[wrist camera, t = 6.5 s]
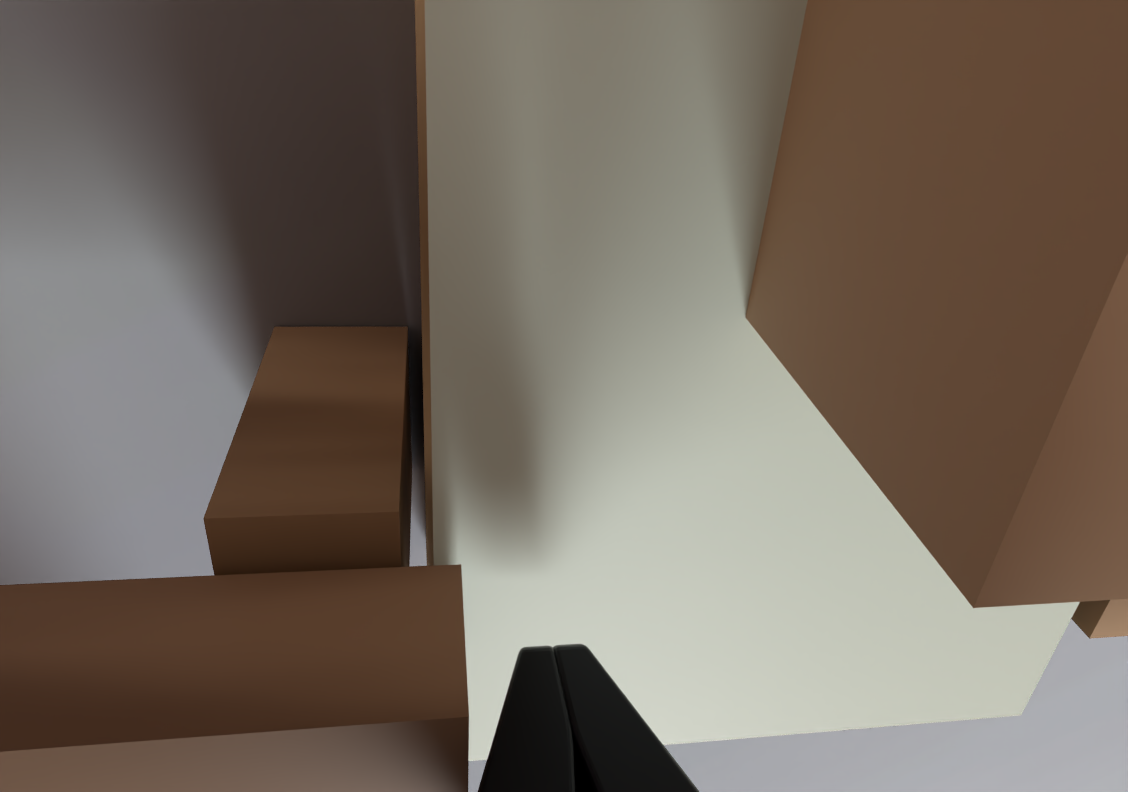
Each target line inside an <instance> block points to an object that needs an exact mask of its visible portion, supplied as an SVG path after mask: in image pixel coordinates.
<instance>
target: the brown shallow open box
mask: <svg viewBox="0 0 1128 792" xmlns="http://www.w3.org/2000/svg"><path fill="white" fill-rule="evenodd" d="M415 34H416V81H417V128H418V175H419V222H420V269H421V316H422V363H423V410H424V457H425V503H426V550H427V566H434V558H433V495H432V432H431V369H430V305H429V242H428V179H427V116H426V53H425V0H415ZM411 488H412V452H411V420H410V387H409V355H408V327H274V329H273V332H272V335H271V337H270V340H269V343H268V345H267V348H266V351H265V354H264V356H263V359H262V362H261V364H260V367H259V370H258V372H257V375H256V378H255V381H254V383H253V386H252V389H251V391H250V394H249V397H248V400H247V402H246V405H245V408H244V410H243V413H242V416H241V418H240V421H239V424H238V427H237V429H236V432H235V435H234V437H233V440H232V443H231V446H230V448H229V451H228V454H227V456H226V459H225V462H224V464H223V467H222V470H221V473H220V475H219V478H218V481H217V483H216V486H215V489H214V492H213V494H212V497H211V500H210V502H209V505H208V508H207V510H206V513H205V516H204V524H205V529H206V534H207V539H208V544H209V549H210V555H211V560H212V565H213V570H214V575H237V574H259V573H281V572H303V571H325V570H347V569H369V568H391V567H409V559H410V523H411ZM1071 619H1072V620H1073V621H1074V622H1075V623H1076V624H1077V625H1078V626H1079V627H1080V629H1081V630H1082V631H1083V632H1084V633H1085V634H1086V635H1087V636H1088V637H1089V638H1103V637H1117V636H1128V599H1118V600H1101V601H1084V602H1080V603H1079V605H1078V607H1077V609H1076V610H1075V612H1074V614H1073V616H1072V618H1071Z"/></svg>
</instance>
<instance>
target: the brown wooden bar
mask: <svg viewBox="0 0 1128 792" xmlns="http://www.w3.org/2000/svg"><path fill="white" fill-rule="evenodd" d="M468 756H469V706H468V686H467V667H466V648H465V628H464V609H463V589H462V570H461V564H457V565H435V566H413V567H391V568H369V569H347V570H325V571H303V572H281V573H259V574H237V575H215V576H193V577H171V578H149V579H127V580H105V581H82V582H60V583H38V584H16V585H0V792H468Z"/></svg>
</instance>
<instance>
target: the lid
mask: <svg viewBox="0 0 1128 792" xmlns="http://www.w3.org/2000/svg"><path fill="white" fill-rule="evenodd" d="M425 53H426V116H427V179H428V242H429V305H430V369H431V432H432V495H433V558H434V566H435V565H457V564H461V570H462V589H463V609H464V628H465V648H466V667H467V686H468V706H469V756H468V761H477V760H487V759H488V755H489V752H490V748H491V745H492V741H493V738H494V735H495V731H496V728H497V724H498V721H499V718H500V714H501V711H502V707H503V704H504V701H505V697H506V694H507V690H508V687H509V683H510V680H511V677H512V673H513V670H514V666H515V663H516V660H517V656H518V653H519V651H520V649H521V648H523V647H530V646H551V647H554V646H556V645H565V644H583V645H585V646H587V647H588V648H589V649H590V651H591V652H592V653H593V654H594V656H595V657H596V658H597V660H598V661H599V662H600V664H601V665H602V666H603V667H604V669H605V670H606V671H607V673H608V674H609V675H610V676H611V678H612V679H613V680H614V682H615V683H616V684H617V686H618V687H619V688H620V689H621V691H622V692H623V693H624V695H625V696H626V697H627V699H628V700H629V701H630V702H631V704H632V705H633V706H634V708H635V709H636V710H637V712H638V713H639V714H640V715H641V717H642V718H643V719H644V721H645V722H646V723H647V724H648V726H649V727H650V728H651V730H652V731H653V732H654V734H655V735H656V736H657V737H658V739H659V740H660V741H661V743H662V744H663V745H670V744H682V743H694V742H706V741H718V740H730V739H742V738H754V737H766V736H778V735H790V734H802V733H814V732H826V731H838V730H850V729H862V728H874V727H887V726H899V725H911V724H923V723H935V722H947V721H959V720H971V719H983V718H995V717H1007V716H1019V715H1021V714H1022V712H1023V710H1024V708H1025V706H1026V705H1027V703H1028V701H1029V699H1030V697H1031V695H1032V693H1033V691H1034V689H1035V687H1036V685H1037V683H1038V682H1039V680H1040V678H1041V676H1042V674H1043V672H1044V670H1045V668H1046V666H1047V664H1048V662H1049V660H1050V658H1051V657H1052V655H1053V653H1054V651H1055V649H1056V647H1057V645H1058V643H1059V641H1060V639H1061V637H1062V635H1063V633H1064V632H1065V630H1066V628H1067V626H1068V624H1069V622H1070V620H1071V618H1072V616H1073V614H1074V612H1075V610H1076V609H1077V607H1078V605H1079V603H1080V602H1084V601H1101V600H1118V599H1128V0H425Z"/></svg>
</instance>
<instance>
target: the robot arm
mask: <svg viewBox="0 0 1128 792" xmlns="http://www.w3.org/2000/svg"><path fill="white" fill-rule="evenodd" d="M478 792H699V791H698V789H697V788H696V787H695V785H694V784H693V783H692V782H691V780H690V779H689V778H688V776H687V775H686V774H685V772H684V771H683V770H682V769H681V767H680V766H679V765H678V763H677V762H676V761H675V760H674V758H673V757H672V756H671V754H670V753H669V752H668V750H667V749H666V748H665V747H664V745H663V744H662V743H661V741H660V740H659V739H658V737H657V736H656V735H655V734H654V732H653V731H652V730H651V728H650V727H649V726H648V724H647V723H646V722H645V721H644V719H643V718H642V717H641V715H640V714H639V713H638V712H637V710H636V709H635V708H634V706H633V705H632V704H631V702H630V701H629V700H628V699H627V697H626V696H625V695H624V693H623V692H622V691H621V689H620V688H619V687H618V686H617V684H616V683H615V682H614V680H613V679H612V678H611V676H610V675H609V674H608V673H607V671H606V670H605V669H604V667H603V666H602V665H601V664H600V662H599V661H598V660H597V658H596V657H595V656H594V654H593V653H592V652H591V651H590V649H589V648H588V647H587V646H585V645H583V644H565V645H556V646H554V647H551V646H530V647H523V648H521V649H520V651H519V653H518V656H517V660H516V663H515V666H514V670H513V673H512V677H511V680H510V683H509V687H508V690H507V694H506V697H505V701H504V704H503V707H502V711H501V714H500V718H499V721H498V724H497V728H496V731H495V735H494V738H493V741H492V745H491V748H490V752H489V755H488V759H487V762H486V765H485V769H484V772H483V776H482V779H481V782H480V786H479V789H478Z"/></svg>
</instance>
